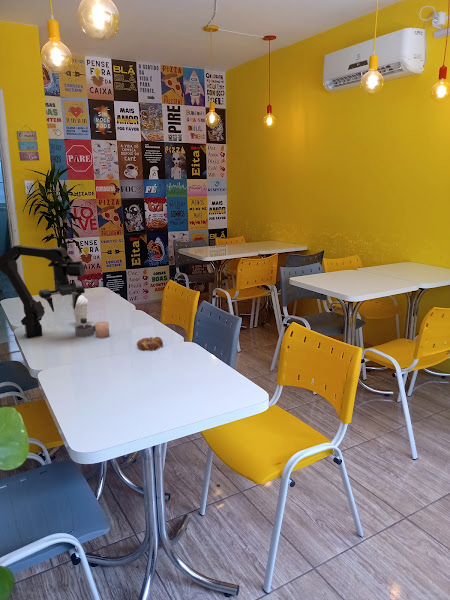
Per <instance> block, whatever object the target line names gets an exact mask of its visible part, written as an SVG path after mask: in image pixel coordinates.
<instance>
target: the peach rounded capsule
mask: <svg viewBox="0 0 450 600" xmlns="http://www.w3.org/2000/svg"><path fill="white" fill-rule="evenodd" d="M109 324H110V323H109V322H108V321H99V322H95V323H94V325H95V331H96V332H95V337H96V338H97V339H105V338H109V336H110V325H109Z"/></svg>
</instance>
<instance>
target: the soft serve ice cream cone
mask: <svg viewBox="0 0 450 600" xmlns="http://www.w3.org/2000/svg"><path fill="white" fill-rule="evenodd" d="M88 304H89V299H88V298H86V297H85V296H84V295H83V294H82V295H80V296H79V297H78V299H77V302H76V306H75V309H73V301H72V300H71V301H70V305H71V308H72V312H73V316H74V319H75V322H76V325H77V326H79V325H83V323H81V320H80V319H82V318H87V316H88ZM86 323H87V322H86ZM86 323H85V325H87V324H86Z"/></svg>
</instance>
